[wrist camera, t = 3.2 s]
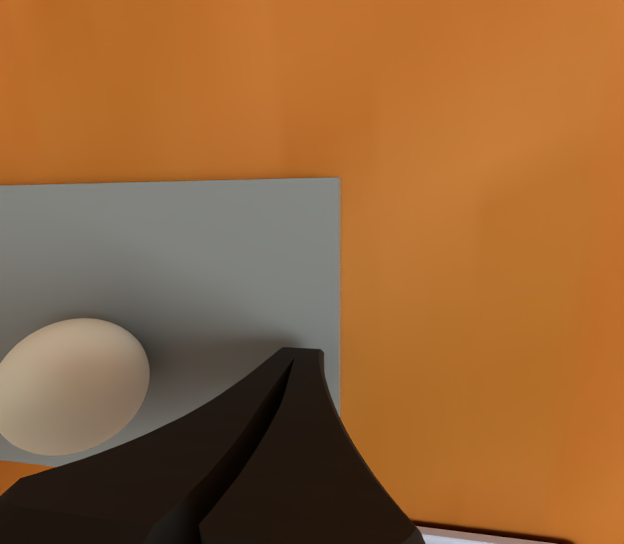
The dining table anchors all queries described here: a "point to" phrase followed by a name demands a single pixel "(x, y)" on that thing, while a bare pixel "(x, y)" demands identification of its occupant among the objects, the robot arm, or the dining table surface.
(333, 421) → the robot arm
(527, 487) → the dining table surface
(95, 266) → the board
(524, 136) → the dining table surface
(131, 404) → the ball
